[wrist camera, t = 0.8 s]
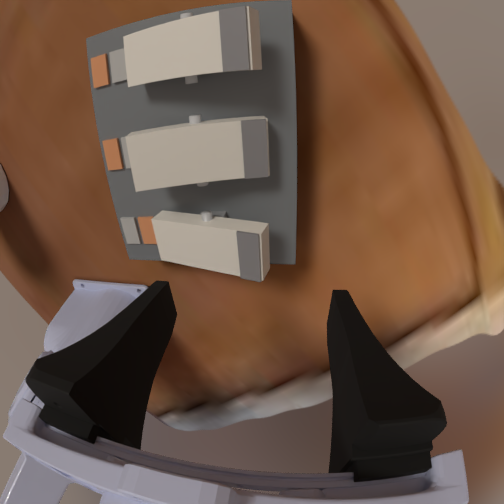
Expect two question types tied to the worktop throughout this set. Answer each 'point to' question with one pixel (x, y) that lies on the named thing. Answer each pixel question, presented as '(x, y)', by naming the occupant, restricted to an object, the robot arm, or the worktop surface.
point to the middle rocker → (199, 152)
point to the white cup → (3, 189)
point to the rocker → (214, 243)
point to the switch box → (210, 108)
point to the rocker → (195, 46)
